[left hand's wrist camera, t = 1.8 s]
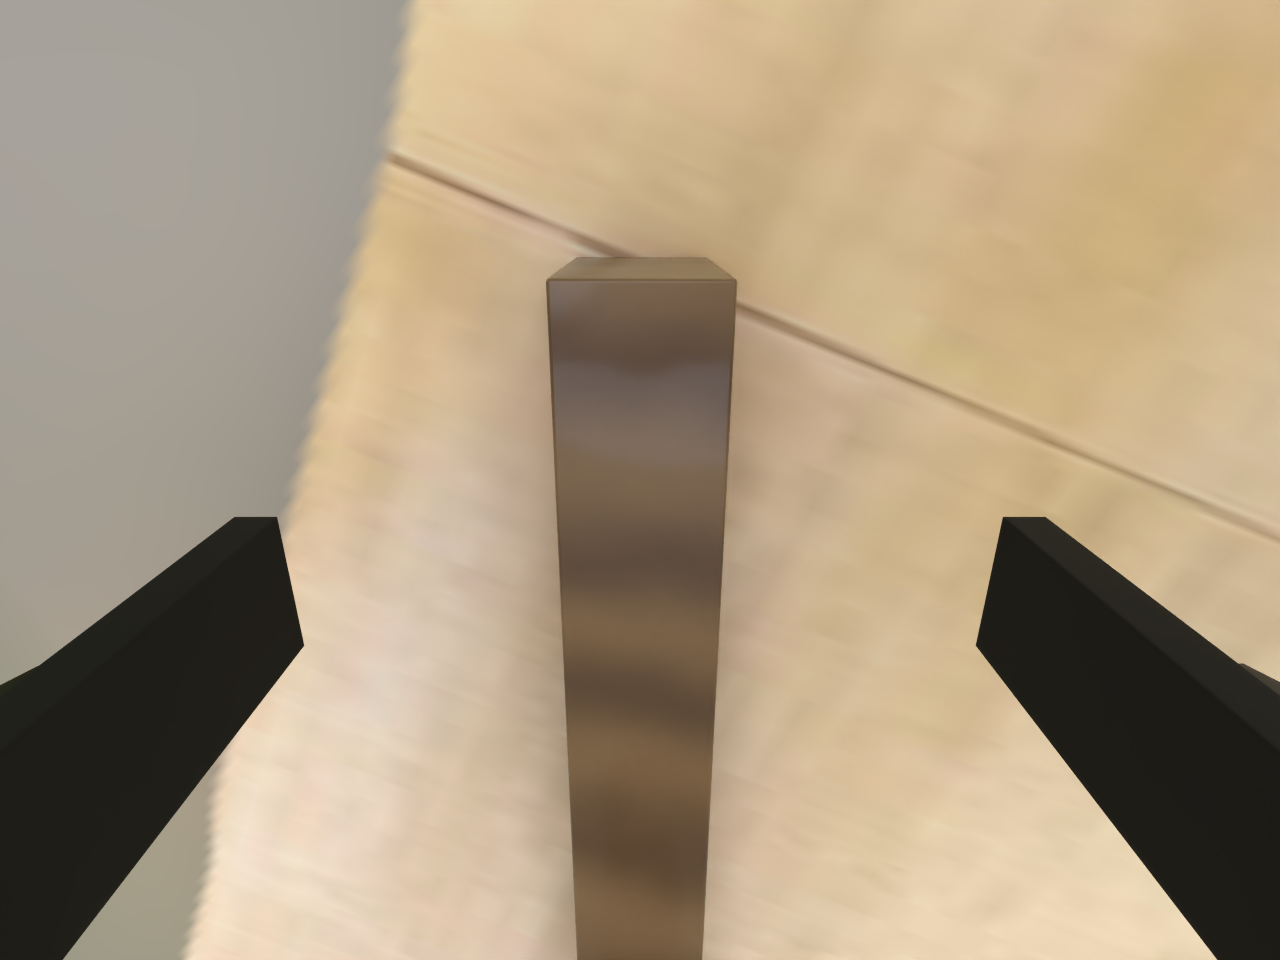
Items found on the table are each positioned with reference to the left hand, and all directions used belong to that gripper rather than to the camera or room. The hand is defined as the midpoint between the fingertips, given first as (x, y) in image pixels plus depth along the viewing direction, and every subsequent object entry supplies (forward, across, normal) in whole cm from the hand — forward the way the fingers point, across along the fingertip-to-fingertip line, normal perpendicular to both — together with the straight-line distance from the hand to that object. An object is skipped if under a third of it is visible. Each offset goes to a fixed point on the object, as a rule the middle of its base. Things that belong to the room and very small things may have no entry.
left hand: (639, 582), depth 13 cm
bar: (+16, 0, -27) cm, 31 cm away
